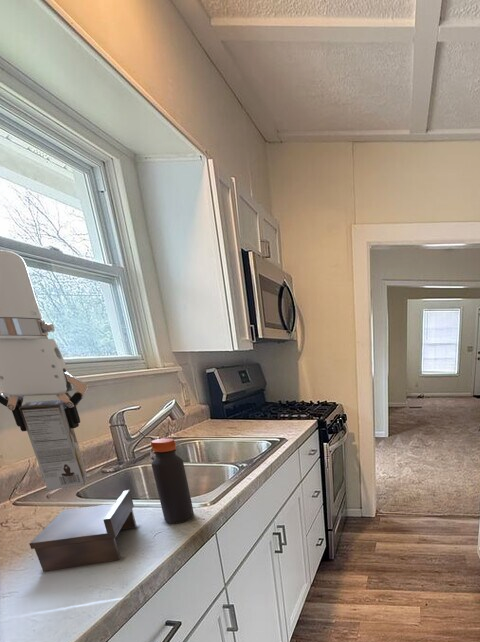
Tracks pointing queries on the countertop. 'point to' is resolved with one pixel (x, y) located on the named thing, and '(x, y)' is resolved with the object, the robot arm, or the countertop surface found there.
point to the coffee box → (54, 444)
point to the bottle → (171, 482)
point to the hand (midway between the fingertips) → (51, 428)
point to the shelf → (84, 535)
